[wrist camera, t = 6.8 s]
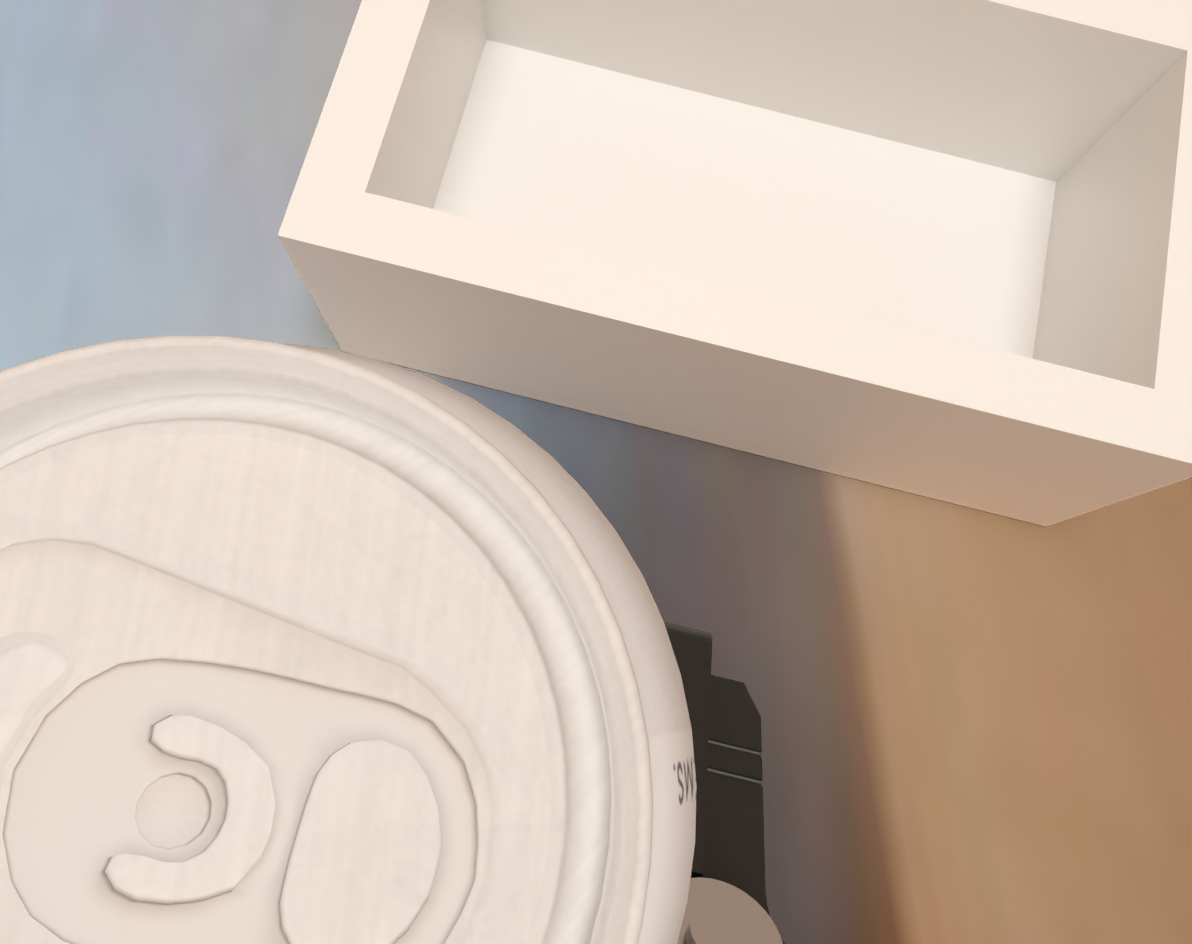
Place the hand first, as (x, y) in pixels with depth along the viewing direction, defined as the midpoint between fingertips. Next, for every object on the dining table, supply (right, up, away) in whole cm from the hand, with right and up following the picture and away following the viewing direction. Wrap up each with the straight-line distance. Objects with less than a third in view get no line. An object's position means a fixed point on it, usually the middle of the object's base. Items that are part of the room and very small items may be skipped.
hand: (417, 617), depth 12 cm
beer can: (-1, -4, +7) cm, 8 cm away
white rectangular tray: (+7, +9, +16) cm, 20 cm away
